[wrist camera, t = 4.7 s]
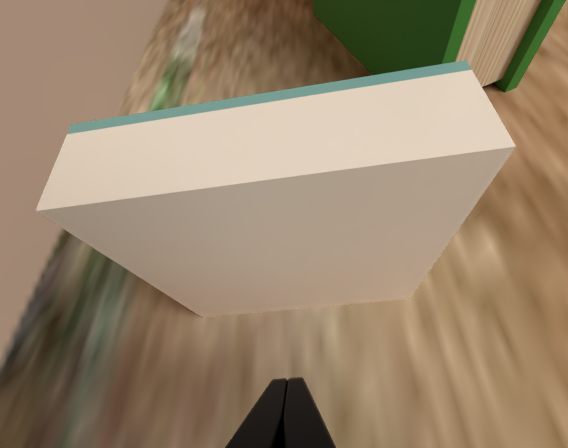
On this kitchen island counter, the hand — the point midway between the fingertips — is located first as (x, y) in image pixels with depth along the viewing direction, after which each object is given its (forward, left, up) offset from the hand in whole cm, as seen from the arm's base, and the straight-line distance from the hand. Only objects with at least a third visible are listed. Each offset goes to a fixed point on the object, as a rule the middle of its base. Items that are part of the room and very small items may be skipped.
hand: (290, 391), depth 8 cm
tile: (+5, +1, -7) cm, 9 cm away
